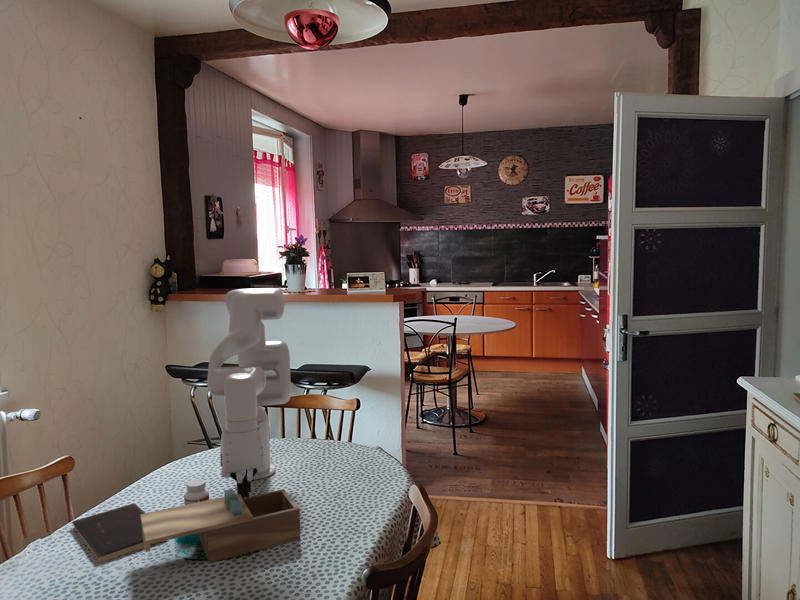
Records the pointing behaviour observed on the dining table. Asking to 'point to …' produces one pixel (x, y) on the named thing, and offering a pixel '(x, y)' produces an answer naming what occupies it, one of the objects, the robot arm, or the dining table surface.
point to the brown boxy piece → (255, 527)
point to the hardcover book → (112, 531)
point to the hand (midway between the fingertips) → (244, 495)
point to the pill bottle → (196, 492)
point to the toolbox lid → (193, 518)
